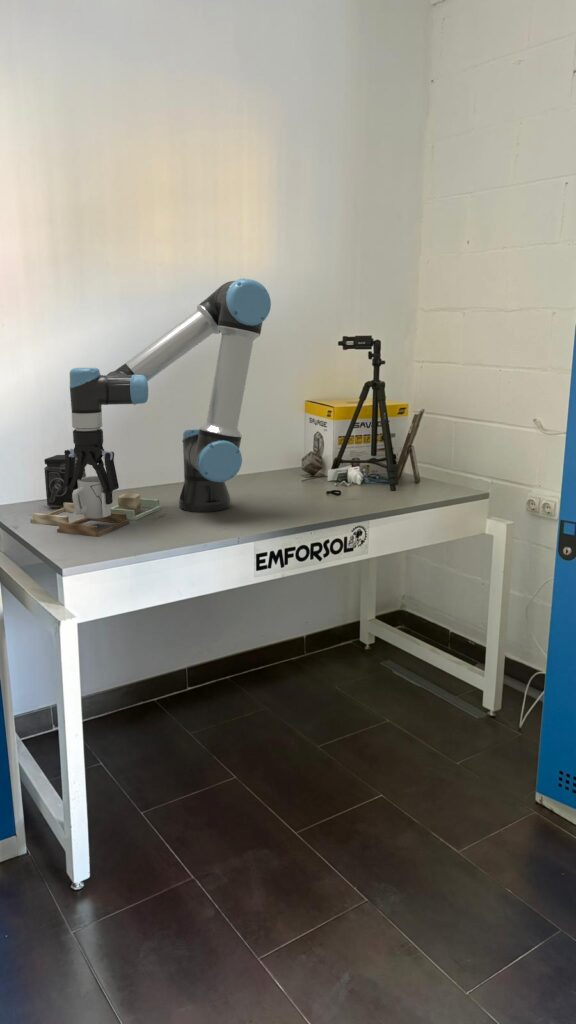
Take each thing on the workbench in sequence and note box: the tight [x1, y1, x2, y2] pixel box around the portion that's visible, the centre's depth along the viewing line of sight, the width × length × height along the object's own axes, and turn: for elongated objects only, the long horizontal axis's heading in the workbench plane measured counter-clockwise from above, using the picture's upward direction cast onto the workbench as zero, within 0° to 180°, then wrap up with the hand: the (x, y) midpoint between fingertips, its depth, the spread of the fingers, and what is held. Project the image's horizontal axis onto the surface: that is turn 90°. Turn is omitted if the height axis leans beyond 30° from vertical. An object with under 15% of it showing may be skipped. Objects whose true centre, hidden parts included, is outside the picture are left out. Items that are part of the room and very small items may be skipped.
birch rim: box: [30, 502, 86, 526], centre depth 214 cm, size 13×15×2 cm
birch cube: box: [117, 493, 142, 516], centre depth 221 cm, size 5×5×5 cm
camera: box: [44, 454, 87, 509], centre depth 227 cm, size 10×11×15 cm
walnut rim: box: [56, 512, 130, 537], centre depth 204 cm, size 13×15×2 cm
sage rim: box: [110, 497, 163, 521], centre depth 221 cm, size 13×15×2 cm
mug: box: [72, 475, 104, 519], centre depth 203 cm, size 11×8×10 cm
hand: (92, 514), depth 204 cm, fingers closed on mug, 8 cm apart
